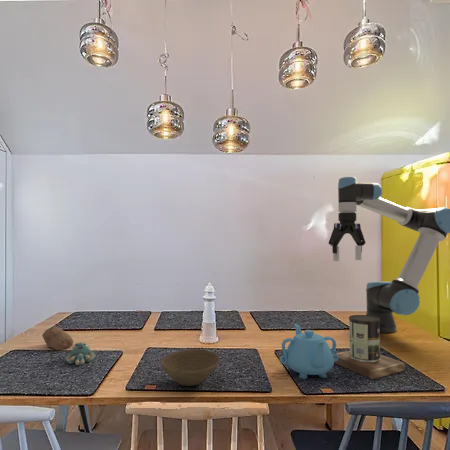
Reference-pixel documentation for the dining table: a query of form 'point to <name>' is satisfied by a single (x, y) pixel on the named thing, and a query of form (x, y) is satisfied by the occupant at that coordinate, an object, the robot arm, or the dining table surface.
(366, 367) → the walnut board
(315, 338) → the teapot
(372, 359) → the coffee can
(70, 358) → the stuffed animal
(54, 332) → the stone
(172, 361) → the bowl
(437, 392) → the dining table surface
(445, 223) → the robot arm
